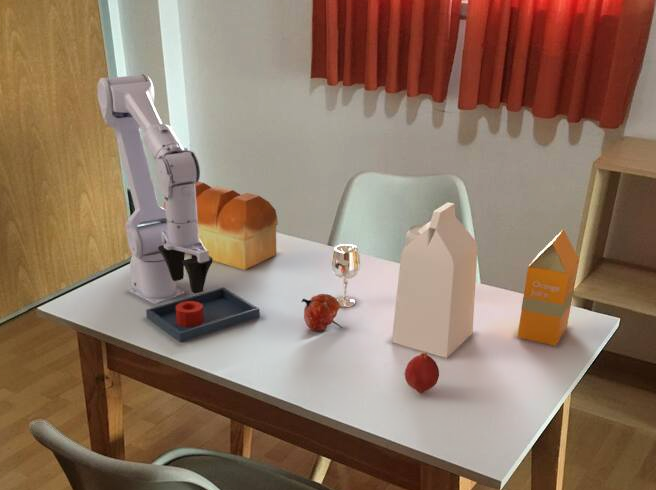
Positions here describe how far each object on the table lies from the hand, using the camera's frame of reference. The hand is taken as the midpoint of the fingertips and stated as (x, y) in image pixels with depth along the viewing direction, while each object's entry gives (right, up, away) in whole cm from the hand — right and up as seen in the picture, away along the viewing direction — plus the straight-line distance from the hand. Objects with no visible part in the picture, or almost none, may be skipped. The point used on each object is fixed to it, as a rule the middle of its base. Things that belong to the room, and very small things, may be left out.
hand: (187, 285), depth 160 cm
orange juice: (+70, -9, +1) cm, 70 cm away
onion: (+43, -21, -18) cm, 51 cm away
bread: (+3, +14, +38) cm, 40 cm away
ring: (0, -7, +4) cm, 8 cm away
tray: (+2, -6, +6) cm, 9 cm away
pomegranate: (+26, -8, +3) cm, 28 cm away
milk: (+48, -10, -1) cm, 49 cm away
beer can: (+47, 0, +16) cm, 49 cm away
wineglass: (+31, -2, +13) cm, 34 cm away
